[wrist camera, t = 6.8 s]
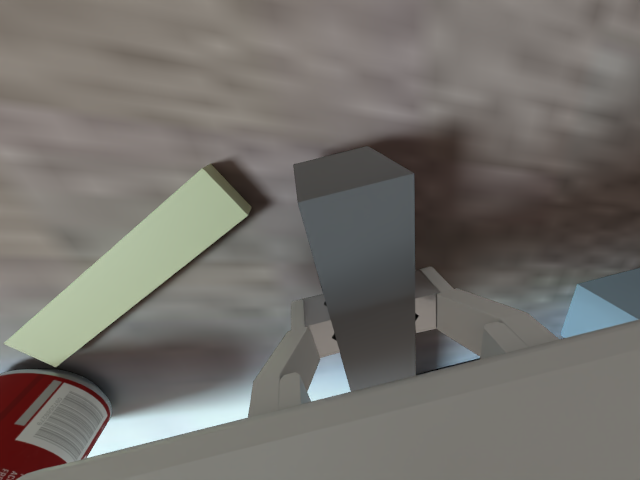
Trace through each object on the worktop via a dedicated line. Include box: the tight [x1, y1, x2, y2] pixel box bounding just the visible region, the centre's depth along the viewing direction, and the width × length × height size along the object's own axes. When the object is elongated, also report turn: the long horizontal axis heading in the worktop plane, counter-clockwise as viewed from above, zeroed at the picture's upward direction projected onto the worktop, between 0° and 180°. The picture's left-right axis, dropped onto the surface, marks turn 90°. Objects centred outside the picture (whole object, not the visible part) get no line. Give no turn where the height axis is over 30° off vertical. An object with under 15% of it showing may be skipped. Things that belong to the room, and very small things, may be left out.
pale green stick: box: [4, 164, 252, 367], centre depth 12 cm, size 14×2×2 cm, turn 126°
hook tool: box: [293, 146, 416, 392], centre depth 13 cm, size 19×13×4 cm
